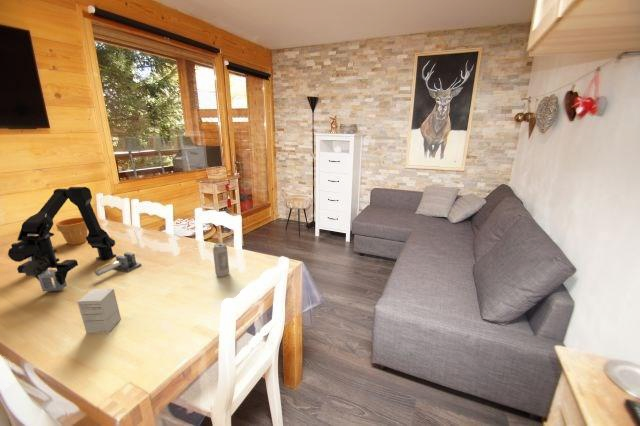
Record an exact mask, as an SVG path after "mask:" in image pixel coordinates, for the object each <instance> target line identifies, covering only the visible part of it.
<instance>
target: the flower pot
mask: <svg viewBox="0 0 640 426" xmlns="http://www.w3.org/2000/svg"><path fill="white" fill-rule="evenodd" d="M55 226H56V229H57V231H59V232H60V233H61V234H62V236H63V238H64V240H65V242H66V243H67V245H70V246H71V245H72V246H74V245H80V244H83V243H86V242H88V241H87V239H86V237H87V236H88V229H87V227H86V224H85V222H84V220H83V218H82V217H73V218H67V219H63V220H59V221H58V222H56V224H55Z"/></svg>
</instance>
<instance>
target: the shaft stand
mask: <svg viewBox="0 0 640 426" xmlns="http://www.w3.org/2000/svg"><path fill="white" fill-rule="evenodd" d="M115 259H116V260H115V261H114V262H112V263H109V262H107V263H105V264H103V265H101V266H98V267H96V269H95V270H94V274H95V275H96V276H97V277H99V276H102V275H103V274H106V273H108V272H111V271H113V270H114V269H115V270H119V271H123V272H127V273H129V272H131V271H133V270H135V269H137V268H140V267H141V266H142V263H139V262H137V261H136V255H135V253H132V252H125V253H123V255H116V256H115Z"/></svg>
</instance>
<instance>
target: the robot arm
mask: <svg viewBox="0 0 640 426" xmlns="http://www.w3.org/2000/svg"><path fill="white" fill-rule="evenodd" d="M92 199H93V196H92V191H91V190H90V188H89V187H87V186H70V187H68V188H57V189H55V190H53V194H52V195H51V196H50V197H49V198H48V200H47V201H46V202H45V203H44V205H42V207H41V208H40V210H39V211H38V212H37V213H35V214H34V215H31V216H29V217H28V218H26V220H24V221H23V222H22V224H21V228H20V231H19V233H18V236H17V241H18V242H14V243H12V244H10V245H11V248H9V249H8V251H7V252H8V253H7V256H8V258H10V260H12V261H14V262H17V263H18V262H19V263H21V262H23V261H25V260H27V261H26V262H24V263H21V264H20V265H18V266H17V269H16V270H17V273H18V274H25V275H26V277H30V276H32V277H34V278H35V279H37V281H39V278H38V275H40V274H41V273H42V272H43V271H46V270H49V269H56V270H57V271H56V272H55V274H57V275H58V278H59V281H60V283H61V285H63V284H64V282H65V280H66V279H67V275H68V272H70V271H71V270H73V269H74V268H76V267H77V266H79V264H78V261H77V260H76V259H65V260H63V261H62V262H60V258H57V256H56V253H57V252H58V251H57V249H56V248H54V246H53V244H52V239H51V237H53V236H55V233H53V232H51V229H52V228H53V225H54V218H55V216H56V215H57V214H58V212H60V210H61V209H62V207H64V204H66V202H67V200H69V201H70V202H71V203H72V204H73V205H75V206H76V207H77V209H78V211H79V213H80V215H81V218H83V220H84V222H85V224H86V227H87V229H88V230H87V237H86V239H87V241H86V242H87V244H89V245H90V246H91V248H92V249H96V250H97V253H98V254H97V255H98V256H97V257H95V259H96V260H100V261H107V260H109V259H111V258H115V257H117V254H114V251H113V248H114V246H115V245H116V240H114V239H113V238H112V237H110V235H109V233H108V232H106V230H104V229H102V228H101V225H100V223H99V220H98V218H97V215H96V213H95V211H94V209H93V206H92V204H91V202H92ZM27 235H35V236H27ZM29 257H31V258H32V261H28V258H29Z"/></svg>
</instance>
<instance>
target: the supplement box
mask: <svg viewBox="0 0 640 426" xmlns="http://www.w3.org/2000/svg"><path fill="white" fill-rule="evenodd" d="M77 305H78V308H79V313H80V316H81V319H82V323H83V325H84V331H85V334H102V333H103V334H105V333H110V332H111V331H112V329H114V327H115V326H116V325H117V324H118V322H119V321H120V320H121V319H122V317H121V314H120V309H119V305H118V300H117V297H116V291H115V289H114V288H99V289H97V288H95V289H90V290H89V292H87V293H86V294H84V296H82V297H81V298H80V299H78V300H77Z"/></svg>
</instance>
